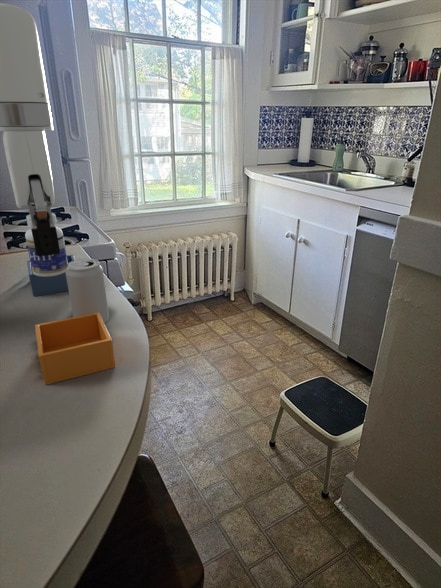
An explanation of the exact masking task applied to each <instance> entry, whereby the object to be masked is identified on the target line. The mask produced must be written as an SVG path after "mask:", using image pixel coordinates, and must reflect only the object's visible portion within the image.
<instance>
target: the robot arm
mask: <svg viewBox="0 0 441 588" xmlns="http://www.w3.org/2000/svg"><path fill="white" fill-rule="evenodd" d="M41 50H42V49H41V44H40V38H39V32H38V28H37V22H36V20H35V18H34V16H33V15H32V14H31V12H29V11H28V10H27V9H25V8H23V7H20V6H17V5H14V4H10V3H3V2H2V3H1V2H0V132H1V134H2V142H3V148H4V154H5V159H6V164H7V168H8V173H9V177H10V182H11V186H12V191H13V194H14V200H15V205H16V207H17V208H18V209H19V210H23V207H25V206H26V207H27V209H28V213H29V214H30V216H31V221H32V225H33V229H31V230H32V235H33V240H34V245H35V250H36V254H37V256H46V255H54V254H59V253H60V248H59V242H58V237H57V231H56V227H57V225H55V226H54V223H53V218H52V213H53V212H52V207H53V206H54V205H55V204H56V201H55V200H56V199H55V190H54V181H53V174H52V166H51V159H50V154H49V148H48V142H47V137H46V131H54V130H55V129H54V123H53V117H52V112H51V105H50V100H49V99H50V97H49V92H48V87H47V82H46V81H47V80H46V74H45V69H44V63H43V55H42V51H41ZM34 213H35V214H34ZM29 214H28V215H29Z"/></svg>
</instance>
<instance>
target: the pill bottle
mask: <svg viewBox="0 0 441 588" xmlns="http://www.w3.org/2000/svg"><path fill="white" fill-rule="evenodd" d="M51 213H52V218H53V223H54V226H56V225H57V216H56V214H55V213H54V212H51ZM34 214H35V213H34ZM25 217H26V218H25V219H26V224H27V227H28V228H29V229H27V231H26V232H25V233H24V238H25V242H26V249H27V252H28V256H29V260H30V262H31V267H32V272H33V274H35V275H37V276H42V277H49V276H56V275H60V274H62V273H64V272H66V271H67V270H68V261H67V255H68V254H67V250H66V243H65V237H64V233H63V230H62V229H61V228H60V227H58V226H56V231H57V237H58V242H59V248H60V253H59V254H54V255H46V256H37V254H36V250H35V245H34V240H33V235H32V230H31V229H33V225H32V221H31V216H30V214H27V215H26V216H25Z"/></svg>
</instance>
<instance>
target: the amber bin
mask: <svg viewBox="0 0 441 588" xmlns="http://www.w3.org/2000/svg"><path fill="white" fill-rule="evenodd" d="M105 324H106V323H105ZM105 324H104V322H103V320H102V318H101V316H100V313H99V312H98V313H93V314H88V315H83V316H78V317H73V316H72V317H69V318H64V319H57V320H53V321H47V322H42V323H38V324H34V328H35V336H36V338H35V339H36V345H37V352H38V360H39V363H40V369H41V371H42V372H41V373H42V376H43V381H44V385H45V386H46V385H52V384H54V383H60V382H62V381H63V382H64V381H66V380H70V379H74V378H78V377H82V376H86V375H90V374H94V373H98V372H103V371H105V370H110V369H113V368H116V363H115V361H116V360H115V353H114V347H113V340H112V337H111V336H110V333H109V331H108V329H107V326H106V325H105Z"/></svg>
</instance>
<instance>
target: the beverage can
mask: <svg viewBox="0 0 441 588" xmlns="http://www.w3.org/2000/svg"><path fill="white" fill-rule="evenodd" d="M65 273H66V279H67V284H68V290H69V291H68V294H69V295H68V296H69V301H70V306H71V312H72V318H73V317H78V316H83V315H88V314H93V313H98V312H99V313H100V316H101V318H102V320H103V322H104V324H106V322H108V321H109V319H110V313H109V306H108V296H107V290H106V282H105V276H104V267H103V266H102V265H101V262H100V261H99V260H98V259H95V258H79V259H75V261H72V262H70V263H68V270H67V271H66V272H65Z"/></svg>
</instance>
